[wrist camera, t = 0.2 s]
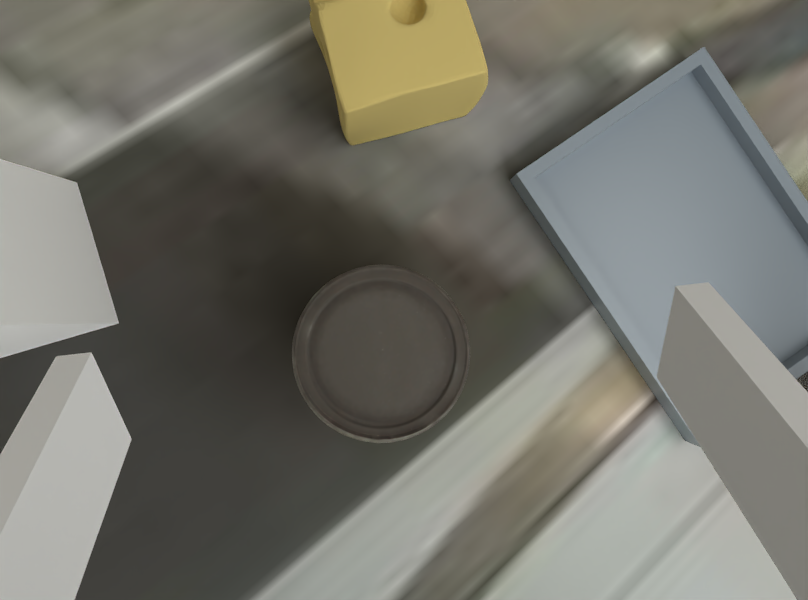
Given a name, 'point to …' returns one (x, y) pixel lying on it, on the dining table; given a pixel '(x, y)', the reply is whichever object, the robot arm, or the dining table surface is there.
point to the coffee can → (381, 353)
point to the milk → (47, 262)
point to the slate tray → (677, 217)
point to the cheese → (399, 63)
